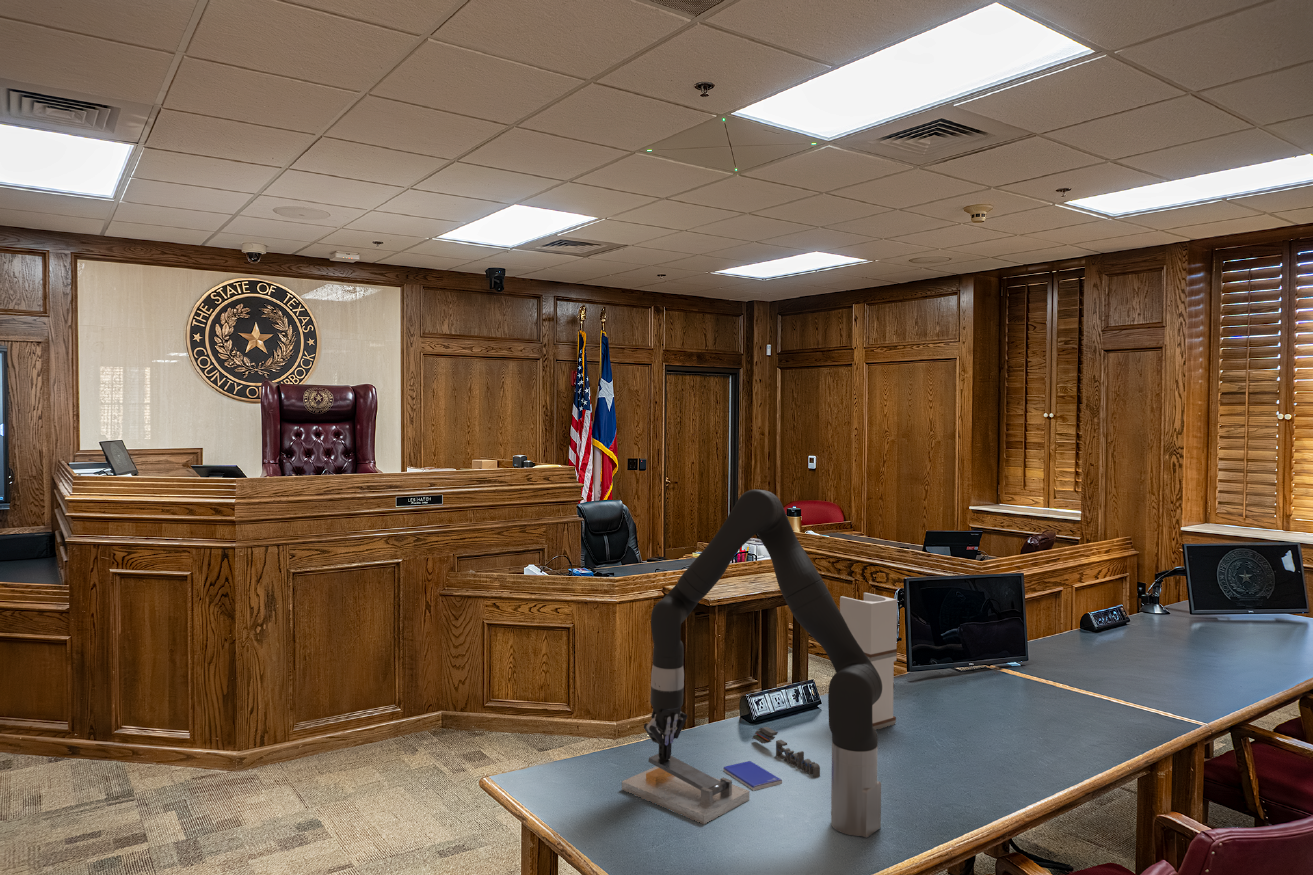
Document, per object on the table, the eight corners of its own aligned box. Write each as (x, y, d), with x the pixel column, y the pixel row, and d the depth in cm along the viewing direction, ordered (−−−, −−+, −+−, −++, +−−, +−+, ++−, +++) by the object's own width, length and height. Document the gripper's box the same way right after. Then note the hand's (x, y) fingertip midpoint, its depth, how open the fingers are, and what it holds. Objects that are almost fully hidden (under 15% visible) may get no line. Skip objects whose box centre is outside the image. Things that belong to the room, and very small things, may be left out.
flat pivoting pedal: (726, 790, 182) (727, 783, 182) (712, 798, 178) (713, 790, 178) (662, 757, 194) (663, 749, 194) (648, 763, 191) (649, 755, 190)
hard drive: (782, 778, 193) (751, 760, 204) (753, 785, 189) (723, 766, 200) (782, 785, 193) (751, 766, 204) (753, 792, 189) (723, 772, 200)
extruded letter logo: (752, 743, 218) (752, 721, 218) (756, 741, 219) (757, 720, 219) (814, 778, 196) (815, 754, 196) (819, 776, 197) (820, 753, 197)
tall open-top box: (895, 724, 232) (897, 599, 232) (869, 731, 226) (871, 603, 226) (864, 712, 242) (865, 592, 242) (838, 719, 236) (840, 596, 236)
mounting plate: (749, 799, 184) (749, 777, 184) (703, 824, 172) (704, 800, 172) (668, 768, 200) (668, 748, 200) (621, 789, 189) (621, 768, 189)
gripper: (660, 694, 183) (657, 772, 183) (698, 681, 192) (695, 755, 193) (635, 686, 188) (632, 762, 188) (674, 674, 197) (671, 746, 198)
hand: (664, 758), depth 190 cm, fingers closed
